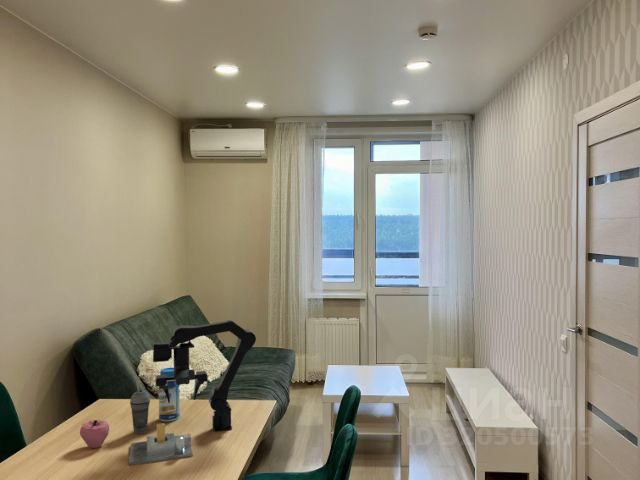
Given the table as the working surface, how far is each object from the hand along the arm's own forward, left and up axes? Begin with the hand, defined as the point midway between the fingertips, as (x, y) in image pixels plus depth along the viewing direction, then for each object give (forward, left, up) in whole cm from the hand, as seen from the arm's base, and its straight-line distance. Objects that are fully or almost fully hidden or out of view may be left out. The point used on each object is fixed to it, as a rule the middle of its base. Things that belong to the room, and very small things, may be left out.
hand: (181, 401), depth 188 cm
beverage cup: (+15, -7, -12) cm, 21 cm away
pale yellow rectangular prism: (+8, +14, -11) cm, 19 cm away
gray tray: (+8, +14, -12) cm, 20 cm away
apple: (+30, +2, -12) cm, 32 cm away
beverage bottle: (+4, -18, -12) cm, 22 cm away
